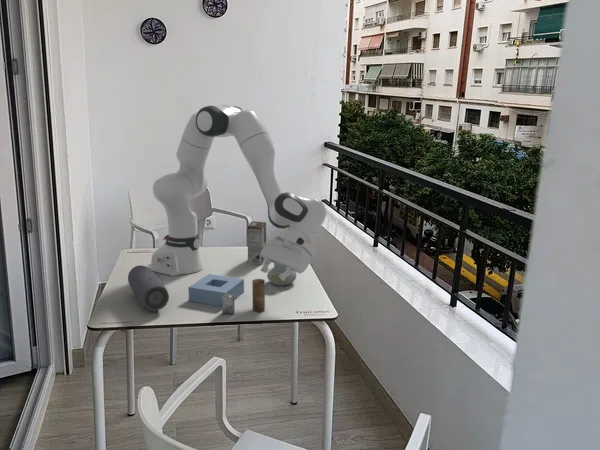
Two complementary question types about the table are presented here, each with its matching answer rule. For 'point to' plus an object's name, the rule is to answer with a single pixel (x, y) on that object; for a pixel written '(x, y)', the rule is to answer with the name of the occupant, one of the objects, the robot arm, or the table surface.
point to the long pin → (258, 295)
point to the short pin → (228, 304)
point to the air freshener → (276, 271)
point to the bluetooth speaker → (148, 288)
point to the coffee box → (256, 242)
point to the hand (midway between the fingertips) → (271, 275)
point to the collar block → (215, 289)
